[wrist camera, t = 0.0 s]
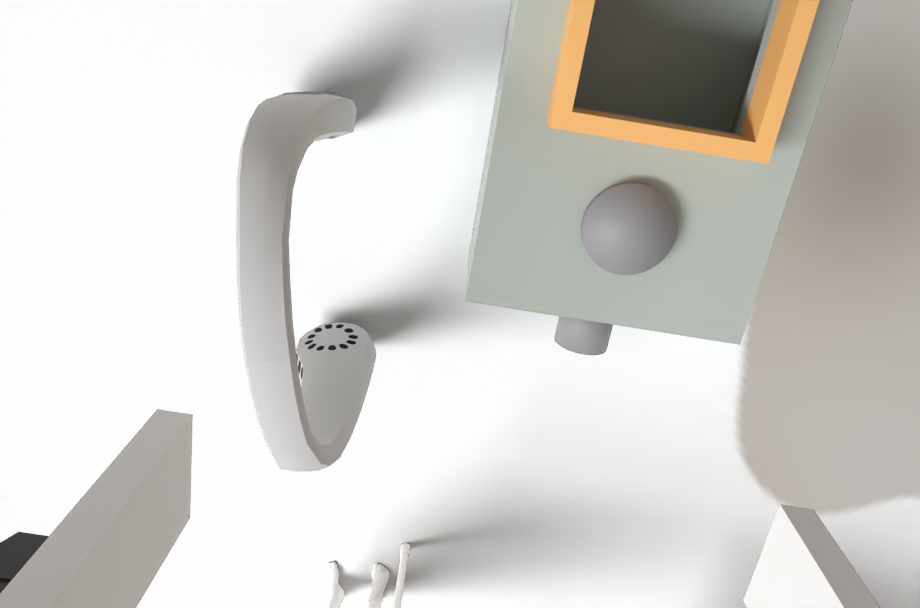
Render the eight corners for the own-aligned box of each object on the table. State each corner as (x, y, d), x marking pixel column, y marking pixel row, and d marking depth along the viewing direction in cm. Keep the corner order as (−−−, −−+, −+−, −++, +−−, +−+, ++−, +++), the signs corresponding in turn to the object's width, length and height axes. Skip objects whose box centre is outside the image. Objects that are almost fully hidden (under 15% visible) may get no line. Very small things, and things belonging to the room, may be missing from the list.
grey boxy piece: (533, -124, 36) (549, -174, 27) (805, -76, 36) (913, -110, 27) (461, 300, 44) (455, 372, 35) (683, 336, 45) (735, 416, 35)
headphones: (259, 128, 23) (111, 132, 23) (317, 550, 29) (200, 549, 30) (362, 82, 40) (275, 84, 40) (385, 357, 46) (309, 357, 46)
